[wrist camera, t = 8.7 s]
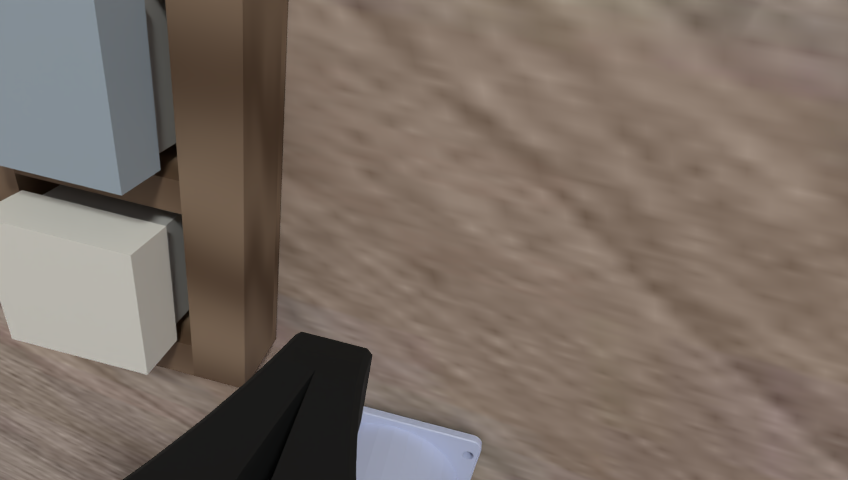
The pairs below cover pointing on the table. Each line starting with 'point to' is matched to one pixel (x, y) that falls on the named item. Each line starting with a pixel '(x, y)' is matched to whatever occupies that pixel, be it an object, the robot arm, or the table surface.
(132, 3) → the slate key
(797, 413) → the table surface
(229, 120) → the brown long flat frame
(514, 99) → the table surface
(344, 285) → the table surface
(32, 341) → the ivory key
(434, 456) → the robot arm
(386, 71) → the table surface
